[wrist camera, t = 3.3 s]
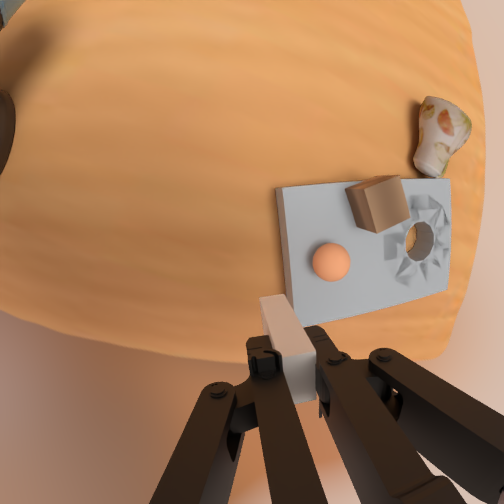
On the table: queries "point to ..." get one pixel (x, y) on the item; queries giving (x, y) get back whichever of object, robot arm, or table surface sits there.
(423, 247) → the grey flat block
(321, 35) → the table surface
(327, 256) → the ball
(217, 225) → the table surface
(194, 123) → the table surface
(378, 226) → the walnut cube
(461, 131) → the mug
